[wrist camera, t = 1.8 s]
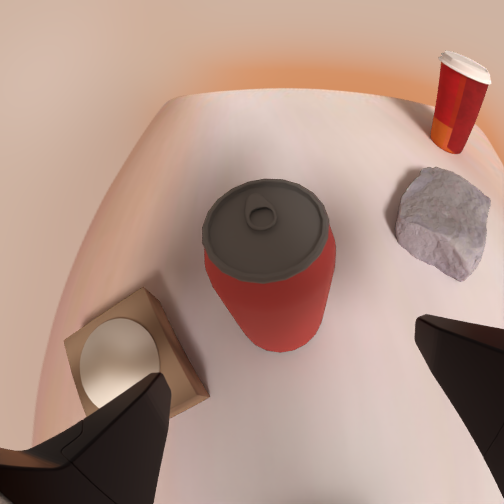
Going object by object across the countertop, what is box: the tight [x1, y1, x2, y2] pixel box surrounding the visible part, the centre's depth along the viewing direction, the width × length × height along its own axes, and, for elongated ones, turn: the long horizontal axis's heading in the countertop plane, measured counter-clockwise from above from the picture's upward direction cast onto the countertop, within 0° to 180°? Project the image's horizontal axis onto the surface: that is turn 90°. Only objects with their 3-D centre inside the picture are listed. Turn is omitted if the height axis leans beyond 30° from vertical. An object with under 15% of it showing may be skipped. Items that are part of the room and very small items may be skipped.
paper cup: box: [431, 51, 491, 154], centre depth 24 cm, size 8×8×14 cm
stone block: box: [395, 167, 491, 282], centre depth 23 cm, size 12×5×10 cm
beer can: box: [202, 179, 336, 352], centre depth 17 cm, size 7×7×12 cm
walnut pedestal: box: [64, 287, 210, 419], centre depth 19 cm, size 10×10×3 cm
